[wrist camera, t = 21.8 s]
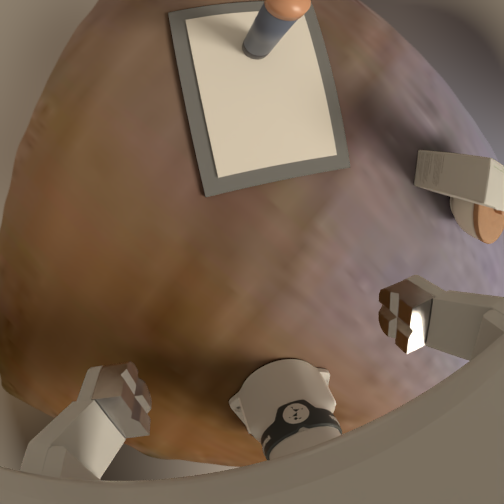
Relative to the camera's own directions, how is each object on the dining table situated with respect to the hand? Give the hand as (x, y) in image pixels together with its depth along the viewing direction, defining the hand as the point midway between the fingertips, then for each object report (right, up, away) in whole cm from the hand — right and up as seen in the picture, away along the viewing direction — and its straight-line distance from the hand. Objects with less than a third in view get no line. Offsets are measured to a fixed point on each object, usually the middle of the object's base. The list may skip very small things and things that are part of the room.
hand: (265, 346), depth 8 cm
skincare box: (+30, +16, +33) cm, 47 cm away
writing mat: (+1, +24, +24) cm, 34 cm away
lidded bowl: (+40, +13, +36) cm, 55 cm away
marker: (0, +28, +21) cm, 35 cm away
